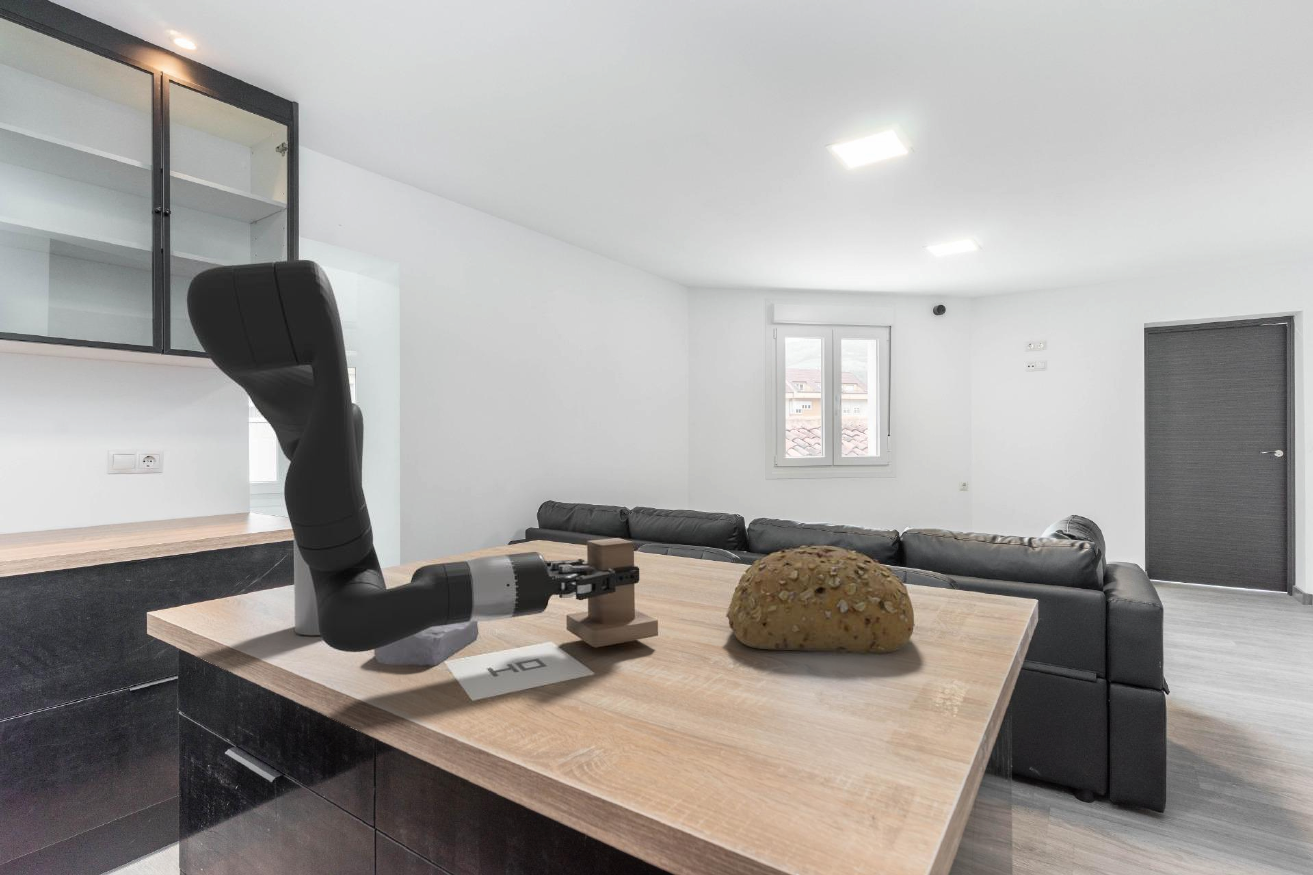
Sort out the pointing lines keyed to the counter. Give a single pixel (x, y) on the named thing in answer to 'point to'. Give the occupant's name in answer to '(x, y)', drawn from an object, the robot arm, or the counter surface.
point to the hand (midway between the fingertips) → (628, 570)
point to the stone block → (429, 645)
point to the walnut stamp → (611, 601)
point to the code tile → (515, 670)
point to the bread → (821, 603)
